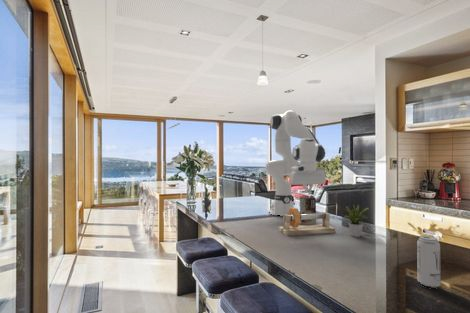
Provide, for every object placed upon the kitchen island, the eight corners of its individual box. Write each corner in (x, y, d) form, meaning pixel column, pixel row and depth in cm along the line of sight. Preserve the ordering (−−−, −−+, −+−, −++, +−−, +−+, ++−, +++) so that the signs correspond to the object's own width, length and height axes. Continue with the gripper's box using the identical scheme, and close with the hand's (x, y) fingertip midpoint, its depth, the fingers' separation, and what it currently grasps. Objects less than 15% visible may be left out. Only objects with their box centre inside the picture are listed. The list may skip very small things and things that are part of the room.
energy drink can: (436, 291, 86) (435, 241, 86) (414, 284, 90) (413, 237, 91) (443, 286, 89) (443, 238, 89) (422, 279, 94) (421, 234, 94)
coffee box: (314, 222, 178) (314, 196, 178) (316, 224, 172) (316, 198, 172) (299, 222, 179) (299, 196, 179) (301, 224, 173) (300, 198, 173)
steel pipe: (283, 220, 155) (283, 214, 155) (325, 217, 161) (325, 212, 161) (285, 221, 152) (285, 215, 152) (329, 219, 158) (329, 213, 158)
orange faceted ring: (288, 224, 159) (288, 206, 159) (292, 224, 160) (291, 206, 160) (296, 228, 149) (296, 209, 150) (300, 228, 150) (300, 209, 150)
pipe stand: (278, 230, 159) (278, 213, 159) (323, 227, 166) (323, 210, 166) (287, 235, 147) (287, 217, 147) (335, 232, 154) (335, 214, 154)
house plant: (375, 240, 139) (375, 207, 139) (345, 238, 141) (345, 206, 141) (368, 233, 153) (368, 202, 153) (341, 231, 155) (340, 201, 155)
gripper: (321, 167, 162) (321, 191, 163) (288, 167, 157) (288, 192, 158) (327, 167, 156) (327, 192, 157) (293, 168, 151) (293, 194, 152)
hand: (307, 192), depth 157 cm, fingers closed
